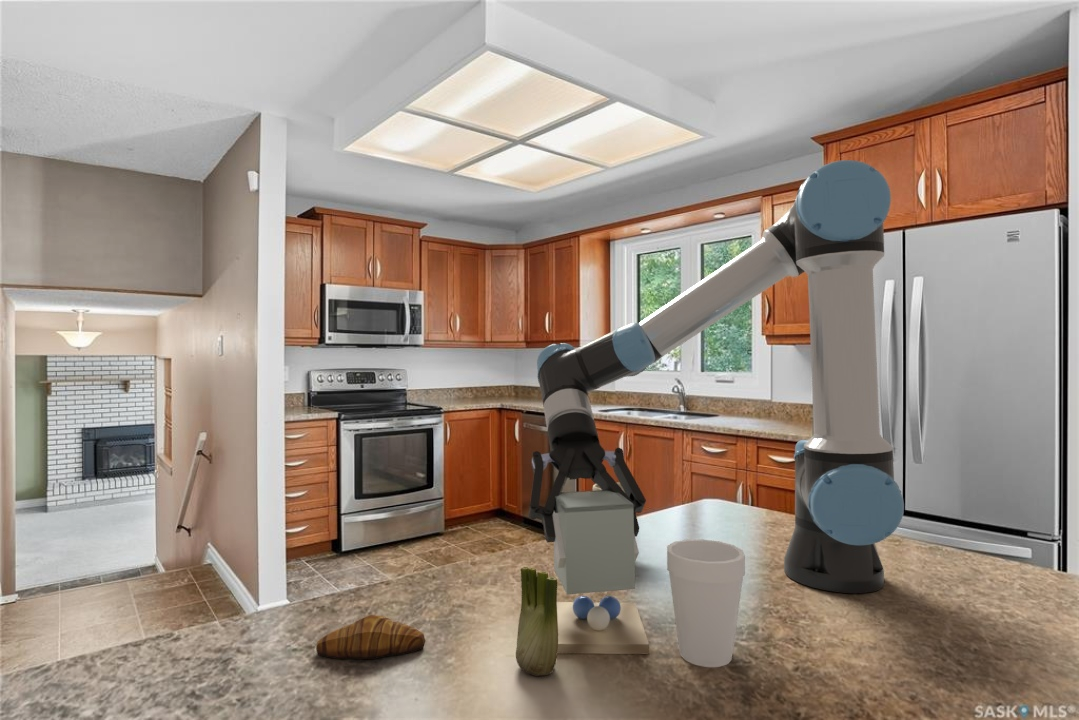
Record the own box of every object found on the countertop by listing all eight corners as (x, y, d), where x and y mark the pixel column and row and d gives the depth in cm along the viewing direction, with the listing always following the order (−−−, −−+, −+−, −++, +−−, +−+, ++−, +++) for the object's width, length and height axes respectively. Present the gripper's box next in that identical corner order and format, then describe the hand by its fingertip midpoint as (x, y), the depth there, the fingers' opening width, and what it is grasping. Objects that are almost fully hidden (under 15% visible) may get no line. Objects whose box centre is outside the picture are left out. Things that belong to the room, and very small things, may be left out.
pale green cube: (615, 565, 88) (614, 489, 88) (635, 589, 79) (633, 503, 79) (554, 570, 86) (552, 492, 86) (566, 594, 78) (565, 508, 78)
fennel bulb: (563, 679, 71) (563, 575, 71) (522, 686, 69) (522, 580, 69) (548, 655, 76) (548, 559, 76) (510, 661, 75) (510, 563, 75)
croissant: (309, 671, 73) (308, 629, 73) (322, 644, 80) (322, 606, 80) (423, 664, 75) (423, 623, 75) (427, 638, 82) (426, 601, 82)
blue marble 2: (619, 613, 85) (619, 592, 85) (621, 623, 82) (621, 601, 82) (598, 613, 86) (597, 592, 85) (599, 623, 82) (599, 601, 82)
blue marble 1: (593, 613, 86) (593, 592, 85) (595, 623, 83) (595, 601, 82) (572, 613, 86) (572, 592, 86) (573, 623, 83) (572, 600, 83)
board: (635, 610, 89) (635, 602, 89) (649, 654, 76) (649, 644, 76) (525, 610, 90) (525, 602, 90) (521, 653, 77) (521, 643, 77)
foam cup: (749, 677, 71) (749, 565, 71) (667, 670, 73) (667, 560, 72) (739, 640, 80) (739, 541, 80) (667, 634, 82) (667, 537, 82)
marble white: (608, 624, 82) (608, 602, 82) (611, 634, 79) (610, 611, 79) (586, 624, 82) (586, 602, 82) (587, 634, 79) (587, 611, 79)
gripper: (633, 437, 99) (670, 567, 84) (500, 443, 96) (513, 579, 80) (642, 407, 94) (685, 540, 79) (502, 412, 91) (517, 552, 75)
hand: (598, 560), depth 79 cm, fingers closed on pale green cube, 9 cm apart
